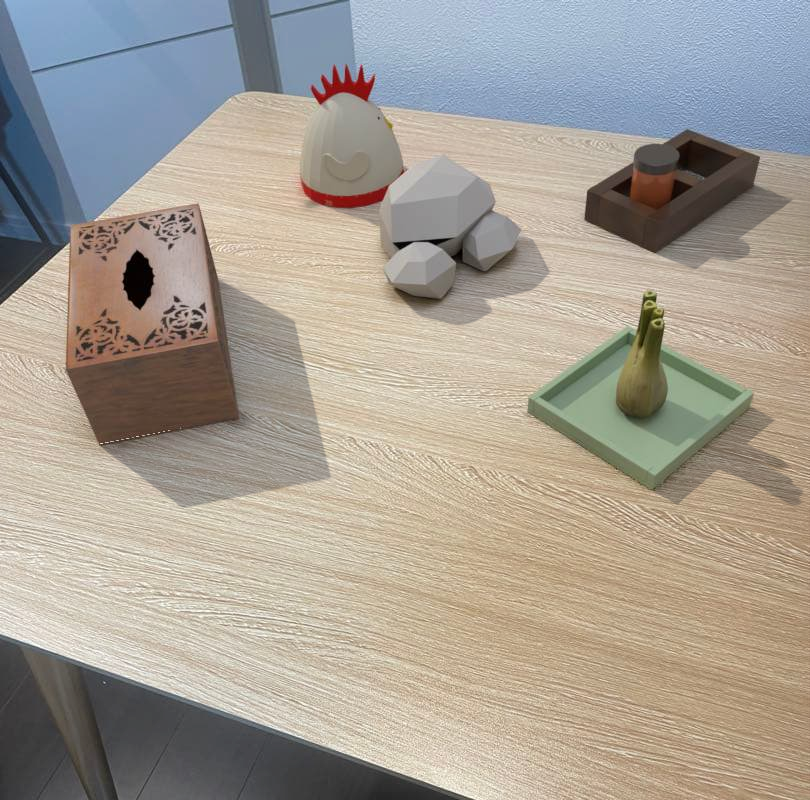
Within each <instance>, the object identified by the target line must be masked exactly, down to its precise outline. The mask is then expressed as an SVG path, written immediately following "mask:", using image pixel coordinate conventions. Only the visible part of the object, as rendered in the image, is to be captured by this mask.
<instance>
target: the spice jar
mask: <svg viewBox="0 0 810 800" xmlns="http://www.w3.org/2000/svg"><path fill="white" fill-rule="evenodd" d="M679 156H680V155H679V152H678V151H677V150H676V149H675V148H673V147H671V146H668V145H664V143H649V144H645V145H641V146H640V147H638V148H636V149H635V151H634V154H633V161H632V163H633V165H634V166H633V174H632V181H631V188H630V196H629V198H631V199H633V200H636V201H638V202H640V203H642V204H645V205H647V206H649V207H651V208H654V209H656V210H658V209H660V208H661V207H663V206H664V205H666V204H667V203H669V202H670V201H671V197H672V192H673V186H674V180H675V175H676V169H677V167H678V162H679Z"/></svg>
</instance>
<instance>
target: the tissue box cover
mask: <svg viewBox="0 0 810 800" xmlns="http://www.w3.org/2000/svg"><path fill="white" fill-rule="evenodd" d="M202 214H203V213H202V210H201V206H200V203H199V202H197V203H192V204H187V205H182V206H175V207H169V208H163V209H158V210H152V211H147V212H146V211H145V212H139V213H134V214H128V215H123V216H117V217H111V218H106V219H99V220H93V221H88V222H82V223H76V224H70V227H69V253H68V254H69V257H68V287H67V315H66V317H67V318H66V345H65V346H66V349H65V350H66V351H65V371H66V374H67V376H68V378H69V380H70V383H71V385H72V387H73V390H74V391H75V394H76V396H77V398H78V401H79V404H80V405H81V407H82V409H83V412H84V413H85V416H86V419H87V421H88V423H89V425H90V427H91V429H92V432H93V434H94V436H95V438H96V441H97V443H98V445H99V446H104V445H109V444H114V443H120V442H125V441H130V440H135V439H141V438H145V437H150V436H151V437H152V436H155V435H161V434H166V433H171V432H175V431H181V430H182V431H183V430H187V429H192V428H198V427H202V426H207V425H212V424H218V423H222V422H228V421H234V420H238V419H240V415H239V408H238V401H237V394H236V389H235V387H236V386H235V382H234V375H233V368H232V361H231V356H230V355H231V354H230V347H229V342H228V336H227V328H226V321H225V316H224V309H223V302H222V296H221V288H220V282H219V277H218V273H217V269H216V266H215V261H214V258H213V254H212V250H211V245H210V242H209V238H208V234H207V230H206V226H205V222H204V218H203V215H202ZM180 428H181V429H180ZM168 430H170V431H168ZM163 431H165V432H163ZM158 432H160V433H158ZM153 433H155V434H153ZM147 434H150V435H147ZM142 435H145V436H142ZM136 436H139V437H136ZM132 437H134V438H132ZM126 438H129V439H126ZM121 439H124V440H121ZM116 440H119V441H116ZM110 441H114V442H110ZM105 442H109V443H105ZM100 443H103V444H100Z"/></svg>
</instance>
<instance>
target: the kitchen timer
mask: <svg viewBox="0 0 810 800" xmlns="http://www.w3.org/2000/svg"><path fill="white" fill-rule="evenodd" d="M357 74H358V75H357V79H356V81H354V80H353V79H352V75H351V72H350V69H349V67H348V64H347V63H345V66H344V80H343V82H342V81H341V77H340V75H339V72H338V69H337V67H336V65H335V64H333V65H332V81H331V83H330V81H329V80H328V79H327V78H326V76H325V75H324V74H321V75H320V81H321V84H322V87H323V89H324V93H321V92H319V91H318V89H317V88H316V87H315V85H313V84H311V85H310V91H311V92H312V95H313V97H314V98H315V100H316V102H317V103H318V104H317V106H316V107H315V109H314V110H313V111H312V114H311V115H310V116H309V119H308V122H307V124H306V126H305V131H304V134H303V140H302V146H301V153H300V161H299V174H300V175H299V176H300V183H301V188H302V190H303V192H304V194H305V195H306V196H307V197H308V198H309V199H310V200H311V201H313V202H315V203H318V204H320V205H323V206H327V207H332V208H349V209H352V208H359V207H366V206H371V205H373V204H376V203H379V202H382V201H383V199H384V197H385V194H386V192H387V190H388V187H389V185H391V184H392V183H393V182H394V181H395V180H396V179H398V178H399V177H400V176H401V175H402V174H403V173H405V171H404V160H403V154H402V151H401V148H400V146H399V142H398V141H397V137H396V135H395V133H394V130H393V127H394V126H393V124H392V123H391V122H390V121H389V120H388V119H387V117H386V116H385V114H384V113H383V111H382V110H381V108H380V107H379V106H378V105H377V104H376V103H375V102H374V101H373V100H372V99H371V98H370V95H371V92H372V91H373V87H374V84H375V80H376V73H373V75H372V76H371V78H370V79H369V80H368V81H365V74H364V67H363V64H360V65H359V69H358V73H357Z"/></svg>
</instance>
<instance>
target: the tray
mask: <svg viewBox="0 0 810 800" xmlns="http://www.w3.org/2000/svg"><path fill="white" fill-rule="evenodd" d="M636 332H637V329H635V328H633V327H631V326H629V325H627V326H625V327H623V329H621V330H619V332H617V333H616V334H614V335H613V336H611V337H610V338H609V339H607V340H606V341H604V342H603V343H602V344H600V345H598V346H597V347H596V348H595V349H593V350H592V351H591V352H589V353H587V354H586V355H584V357H582V358H581V359H579V360H578V361H576V362H575V363H573V365H571V366H570V367H568V368H567V369H566V370H564V371H563V372H561V373H559V375H557V376H556V377H554V378H553V379H551V380H550V381H548V382H547V383H546V384H545V385H543V386H542V387H540V388H539V389H538V390H536V391H535V392H533V393H532V394H530V395H529V396H528V399H527V413H529V414H530V415H532V416H534V417H535V418H537V419H538V420H540V421H542V422H543V423H545V425H548V426H549V427H551V428H553V429H554V430H556V431H557V432H559V434H560V433H561V434H562V435H563V436H565V437H567V438H569V439H570V440H571V441H573V442H575V443H576V444H578V445H579V446H581V447H583V448H584V449H585V450H587V451H588V452H591V453H592V454H593V455H595V456H597V457H598V458H600V459H601V460H603V461H604V462H607V464H609V465H611V466H612V467H614V468H616V469H617V470H619V471H621V472H623V473H624V474H625V475H627V476H628V477H630V478H631V479H633V480H634V481H636V482H638V483H639V484H641V485H642V486H644V487H645V488H647V489H649V490H650V491H653V490H654V489H655V488H656V487H658V486H659V485H660V484H661V483H662V482H664V481H665V480H666V479H667V478H668V477H670V475H672V474H673V473H674V472H675V471H677V470H678V469H679V468H681V466H682V465H684V464H685V463H686V462H687V461H688V460H690V458H692V457H693V456H694V455H696V454H697V453H698V452H699V451H700V450H701V449H702V448H703V447H705V446H707V445H708V444H709V443H710V442H711V441H712V440H713V439H714V438H715V437H717V436H718V435H720V433H722V432H723V431H724V430H725V429H726V428H728V427H729V426H730V425H731V424H732V423H733V422H734V421H736V420H737V419H738V418H739V417H741V416H742V415H743V414H744V413H745V412H747V410H749V409H750V408H751V404H752V402H753V398H754V395H755V392H754V391H752V390H750V389H748V388H746V387H744V386H742V385H740V384H738V383H737V382H735V381H733V380H730V379H729V378H728V377H725V376H723V375H721V374H720V373H718V372H716V371H714V370H712V369H711V368H708V367H707V366H704V365H703V364H701V363H699V362H697V361H696V360H693V359H691V358H690V357H687V356H686V355H684V354H682V353H680V352H678V351H677V350H674V349H672V348H671V347H668V346H667V345H665V344H663V343H662V344H661V350H660V357H659V358H660V361H661V363H662V366H663V369H664V372H665V375H666V379H667V385H668V392H667V397H666V400H665V403H664V404H663V406H662V407H661V408H660V409H659V410H658V411H656V412H655V413H653V414H651V415H650V416H648V417H636V416H629V415H627V414H625V413H623V412H622V411H621V410H620V409H619V408H618V406H617V404H616V388H617V383H618V380H619V377H620V374H621V371H622V369H623V366H624V364H625V361H626V359H627V356H628V354H629V352H630V350H631V347H632V344H633V342H634V340H635V336H636Z"/></svg>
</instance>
